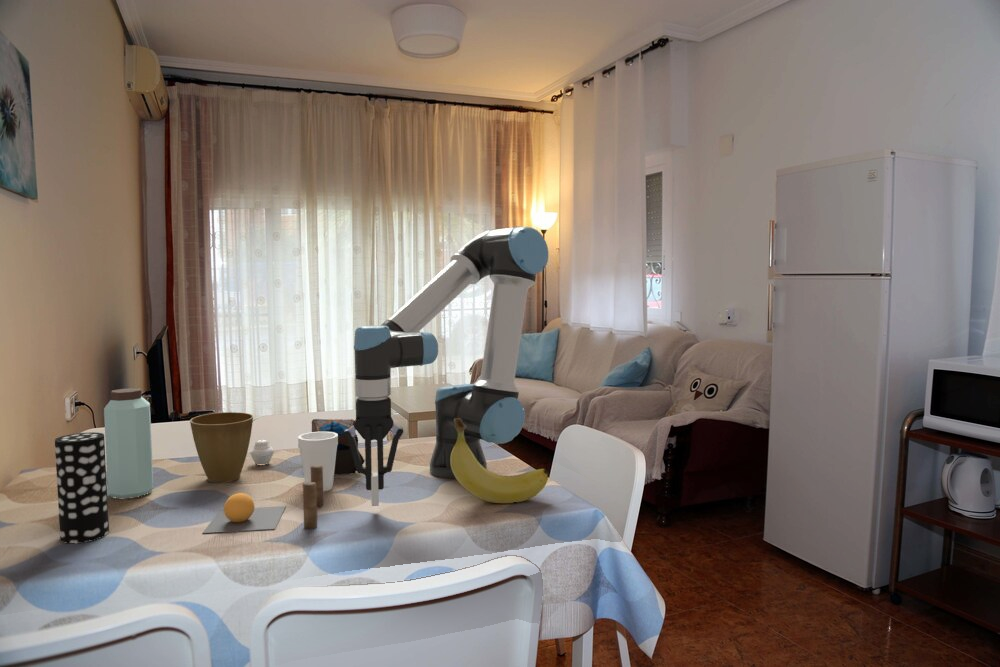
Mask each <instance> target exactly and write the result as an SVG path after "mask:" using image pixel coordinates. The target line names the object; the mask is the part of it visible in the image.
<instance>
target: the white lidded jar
mask: <svg viewBox="0 0 1000 667" xmlns="http://www.w3.org/2000/svg"><path fill="white" fill-rule="evenodd" d="M254 443H255V444H254V445H253V448H252V449H251V450H250V452H249V454H250V456H251V458H252V460H253V462H254V463H255V465H256V464H266V463H269V464H270V462H271V460H272V459H273V458H272V457H273V455H274V452H275V451H274V448H273V447H272V446H271V445H270V444H269V441H268V440H266V439H259V440H257V441H255V442H254Z"/></svg>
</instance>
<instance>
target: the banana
mask: <svg viewBox="0 0 1000 667" xmlns="http://www.w3.org/2000/svg"><path fill="white" fill-rule="evenodd" d="M454 424H455V429H456V430H457V433H458V438H457V442H456V444H455V446H454V448H453V450H452V452H451V457H450V464H451V469H452V472H453V474H454V476H455V477H456V478H455V479H456V481H457V482H458V483H459V484H460V485H461V486H462V487H463V488H464V489H466V491H468V492H469V493H471V494H472V495H473V496H476V497H477V498H479V499H481V500H483V501H485V502H489V503H494V504H514V503H513V502H517V503H521V502H525V501H527V500H530V499H532V498H534V497H535V496H538V494H540V492H542V491H543V489H544V488H545V486H546V485H547V483H548V479H549V475H550V474H549V472H548V471H547V470H546V469H545V468H538V469H534V470H531V471H530V470H529V471H527V472H523V473H521V474H515V475H502V474H496V473H495V472H494V473H493V472H491V471H489V470H488V469H487V470H486V469H485V468H484V467H483V466H482V465H481V464H480V463H479V462H478V461H477V459H476V458H475V456H474V455H473V453H472V452H471V450H470V448H469V447H468V445H467V444H466V441H465V438H464V429H465V428H466V425H465V424H463V422H462V419H461V418H455V419H454Z"/></svg>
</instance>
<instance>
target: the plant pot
mask: <svg viewBox="0 0 1000 667" xmlns="http://www.w3.org/2000/svg"><path fill="white" fill-rule="evenodd" d="M253 422H254V415H253V414H251V413H248V412H237V411H234V412H233V411H226V412H225V411H224V412H223V411H222V412H214V413H213V412H211V413H206V414H205V413H204V414H201V415H198V416H195V417H192V418H191V419H189V424H190V428H191V432H192V439H193V442H194V446H195V449H196V452H197V456H198V458H199V461H200V464H201V467H202V469H203V471H204V473H205V476H206V478H207V480H208V481H209V482H210V481H211V483H214V482H224V483H229V482H228V481H230V482H234V481H237V480H238V479H239V478H240V476H241V473H242V471H243V468H244V465H245V463H246V462H245V461H246V459H247V454H248V450H249V447H250V441H251V437H252V430H253ZM233 480H234V481H233Z"/></svg>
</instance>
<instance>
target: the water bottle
mask: <svg viewBox="0 0 1000 667" xmlns="http://www.w3.org/2000/svg"><path fill="white" fill-rule="evenodd" d="M142 392H143V389H142V388H137V387H135V388H134V387H132V388H129V387H128V388H119V389H114V390H111V392H110V400H109V402H108V403H107V404H106V405H105V407H104V408H103V418H104V419H103V420H104V441H105V460H106V480H107V495H109V496H110V497H111V498H112V497H116V498H130V497H138V496H141V495H144V494H147V493H149V494H150V493H151V491H152V490H153V487H154V468H153V465H154V464H153V448H152V447H153V446H152V445H153V444H152V421H151V419H152V418H151V403H150V402H149V401H148V400H146V398H144V397H143V396H142V394H143V393H142ZM147 495H148V494H147ZM144 496H145V495H144ZM141 497H142V496H141ZM116 498H115V499H116ZM138 498H139V497H138ZM130 499H131V498H130Z"/></svg>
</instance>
